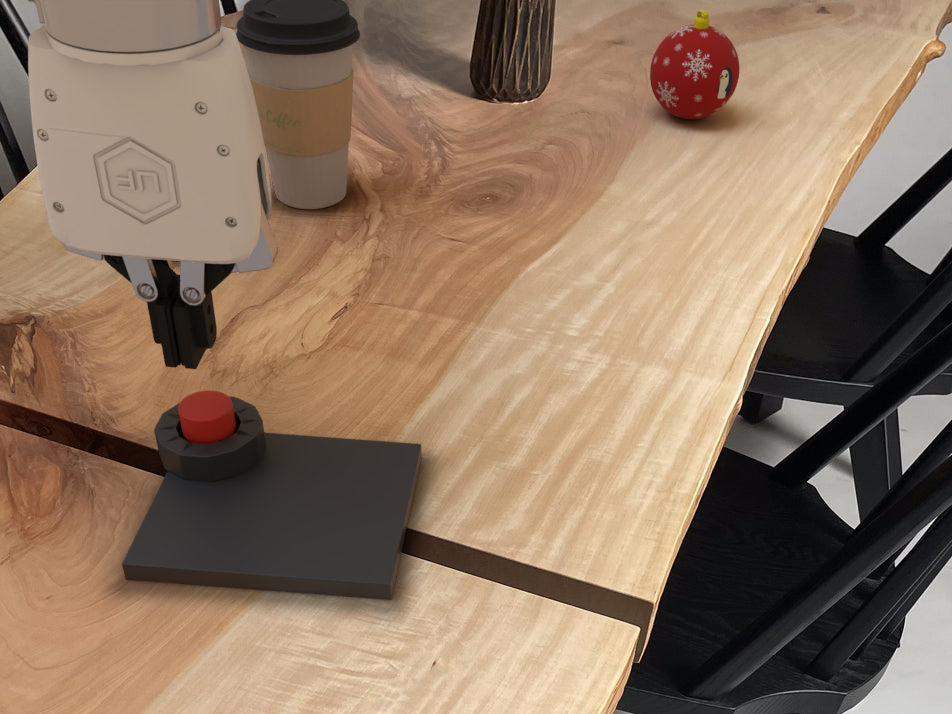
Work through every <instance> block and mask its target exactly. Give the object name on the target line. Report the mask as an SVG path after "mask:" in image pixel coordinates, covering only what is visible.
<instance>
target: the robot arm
mask: <svg viewBox="0 0 952 714" xmlns="http://www.w3.org/2000/svg"><path fill="white" fill-rule="evenodd" d="M27 1H28V2H30V3H34V5H35V8H36V11H37V16H38V20H39V24H43V25H42V26H41V27H39V28H37V29H36V30H34V31H33V32H32V33H30V35H29V36H28V41H27V42H28V44H27V45H28V47H27V59H28V60H27V69H28V88H29V89H28V90H29V91H28V92H29V105H30V116H31V129H32V135H33V144H34V150H35V151H34V152H35V157H36V158H35V159H36V164H37V171H38V177H39V183H40V189H41V195H42V200H43V206H44V209H45V210H44V211H45V213H46V217H47V222H48V224H49V228H50V230H51V232H52V234H53V236H54V237H55V238H56V240H57V241H59V242H60V243H61V244H62V245H63V246H64V248H65V249H66V250H68V251H69V252H71V253H73V254H76V255H80V256H83V257H86V258H90V259H93V260H95V261H99V262H102V261H105V262H106V263H107V264H108V265H109V266H110V267H111V268H112V269H114V270H115V271H116V272H117V273H118V274H119V275H121V276H122V277H123V278H125V279H126V280H127V281H128V282H129V283H131V285H132V288H133V291H134V293H135V295H136V296H137V297H138V298H139V299H140V300H142V302H143V301H144V302H146V305H147V310H148V316H149V317H148V318H149V321H150V327H151V332H152V338H153V341H154V343H155V344H157V345H161V350H162V356H163V361H164V365H165V367H167V368H175V369H176V368H178V367H179V366H183V367H184V368H185V369H186V370H197V368H198V367H199V365H200V363H201V361H202V359H203V357H204V355H205V353H206V351H207V349H212V348H213V347H214V346H215V343H216V340H217V335H218V329H217V328H218V327H217V321H216V313H215V306H214V300H213V291H214V290H215V289H216V288H217V287H218V286H219V285H220V284H221V283H222V282H224V281H225V280H226V279H227V278H228V277H229V276H230V275H231V274H234V273H239V274H243V273H244V274H245V273H250V272H258V271H265V270H269V269H270V268H272V267H273V264H274V262H275V260H276V258H277V255H278V253H279V249H278V248H279V247H278V245H277V243H276V240H275V237H274V234H273V232H272V228H271V225H270V222H269V220H270V218H271V215H272V189H271V180H270V170H269V163H268V158H267V154H266V149H265V145H264V140H263V135H262V130H261V124H260V119H259V114H258V110H257V106H256V101H255V97H254V93H253V89H252V86H251V82H250V78H249V74H248V66H247V63H246V59H245V57H244V55H243V51H242V47H241V45H240V42H239V41H238V39H237V36H236V33H237V32H235V30H234V29H232V28H230V27H226V26H223V24H222V13H221V5H220V0H27ZM173 262H179V263H180V264H179V274H177V272H175V270H174V263H173Z"/></svg>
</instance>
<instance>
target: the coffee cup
mask: <svg viewBox="0 0 952 714" xmlns="http://www.w3.org/2000/svg"><path fill="white" fill-rule="evenodd" d="M235 33H236V36H237V39H238V42H239V44H241V45H242V46H243V51H244V55H245V62H246V66H247V71H248V74H249V78H250V82H251V86H252V89H253V93H254V97H255V101H256V106H257V110H258V114H259V119H260V124H261V130H262V135H263V140H264V146H265V152H266V158H267V164H268V168H269V173H270V176H271V181H272V185H273V190H274V194H275V195H274V196H275V197H276V198H277V200H278V201H279V202H280V203H282V204H284V205H285V206H288V207H291V208H295V209H299V210H300V209H301V210H318V209H324V208H327V207H332V206H333V205H337V204H338V203H340V202H341V201H342V200H344V198H345V197H346V195H347V187H348V168H349V167H348V165H349V147H350V146H349V144H350V141H351V137H352V117H353V116H352V115H353V96H354V95H353V93H354V69H353V50H354V49H353V46H354V45H353V44H355V43H356V42H357V41H359V39H360V38H361V32H360V30H359V22H358V20H357V19H356V18H355V17H354V16H352V14H350V9H349V6H348V4H347V2H346V1H344V0H248V1H247V2H246V3H245V4H244V5H243V9H242V16H241V17H240V18H239V19H238V21H237V22H236V32H235Z"/></svg>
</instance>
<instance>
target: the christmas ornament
mask: <svg viewBox="0 0 952 714" xmlns="http://www.w3.org/2000/svg"><path fill="white" fill-rule="evenodd" d="M702 14H703V15H702ZM709 24H710V19H709V12H708V11H707V10H704V9H699V10H698V11H697V12H696V17H695V18H694V21H693V24H688V25H684V26H681V27H678V28H677V29H675V30H673V31H672V32H670V33H669V34H668V35H667V36H665V37H664V38H663V39H662V41H661V42H660V43H659V44H658V46H657V48H656V50H655V52H654V53H653V55H652V59H651V63H650V67H649V80H650V87H651V90H652V93H653V95H654V97H655V99H656V101H657V102H658V103H659V105H660V106H661V108H663V109H664V111H666V112H668V113H669V114H670V115H672V116H674V117H677V118H679V119H684V120H701V119H704V118H708V117H710V116H712V115H714V114H716V113H718V111H720V110H721V109H723V108H724V106H726V105H727V103H728V102H729V101H730V100H731V98H732V96H733V95H734V93H735V91H736V88H737V86H738V83H739V79H740V59H739V55H738V51H737V50H736V47H735V46H734V43H732V41H731V39H729V37H728V36H727V35H726V34H725V33H723V32H722V31H721V30H719V29H718V28H715V27H714V26H711V25H709Z"/></svg>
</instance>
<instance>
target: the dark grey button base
mask: <svg viewBox="0 0 952 714" xmlns="http://www.w3.org/2000/svg"><path fill="white" fill-rule="evenodd" d="M228 396H229V395H228ZM229 398H230V399H231V400H232V404H233V410H234V417H235V423H236V429H235V432H234V434H233V435H232V436H230V437H229V438H227V439H226V440H223V441H219V442H214V443H210V444H201V443H191V442H189V441H188V440H187V439H186V438H185V437H184V435H183V432H182V427H181V422H180V417H179V412H178V406H179V404H180V402H179V403H177V404H175V405H174V406H172V407H170V408H169V409H167V410H165V411H164V412H163V413H162V414H161V415H160V417H159V419H158V421H157V423H156V424H155V427H154V428H153V432H154V437H155V442H156V446H157V450H158V454H159V457H160V459H161V462H162V465H163V467H164V469H165V470H166V471H167V472H166V473H165V476H164V478H163V480H162V482H161V483H160V486H159V488H158V489H157V491H156V493H155V496H154V498H153V499H152V502H151V504H150V506H149V508H148V510H147V512H146V514H145V516H144V518H143V520H142V522H141V524H140V526H139V528H138V531H137V533H136V534H135V536H134V539H133V540H132V542H131V545H130V546H129V549H128V551H127V553H126V554H125V556H124V558H123V560H122V562H121V567H122V570H123V574H124V578H125V580H126V581H135V582H136V581H137V582H148V583H149V582H150V583H151V582H152V583H165V584H175V585H190V586H205V587H216V588H229V589H243V590H253V591H255V590H256V591H269V592H279V593H293V594H294V593H295V594H308V595H321V596H333V597H346V598H360V599H373V600H374V599H375V600H385V601H391V600H393V599H392V598H393V593H394V589H395V585H396V580H397V575H398V570H399V567H400V561H401V557H402V552H403V548H404V542H405V537H406V533H407V530H408V524H409V519H410V515H411V511H412V505H413V501H414V496H415V492H416V491H415V490H416V486H417V482H418V477H419V473H420V469H421V463H422V459H423V458H422V455H423V454H422V444H421V443H414V442H413V443H412V442H401V441H385V440H373V439H360V438H359V439H357V438H346V437H345V438H343V437H331V436H317V435H302V434H292V433H291V434H289V433H275V432H265V428H264V422H263V421H264V420H263V418H262V416H261V415H260V413H259V411H258V409H257V407H256V406H254V404H251V403H249V402H248V401H244V400H243V399H241V398H239V397H235V396H229Z"/></svg>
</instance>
